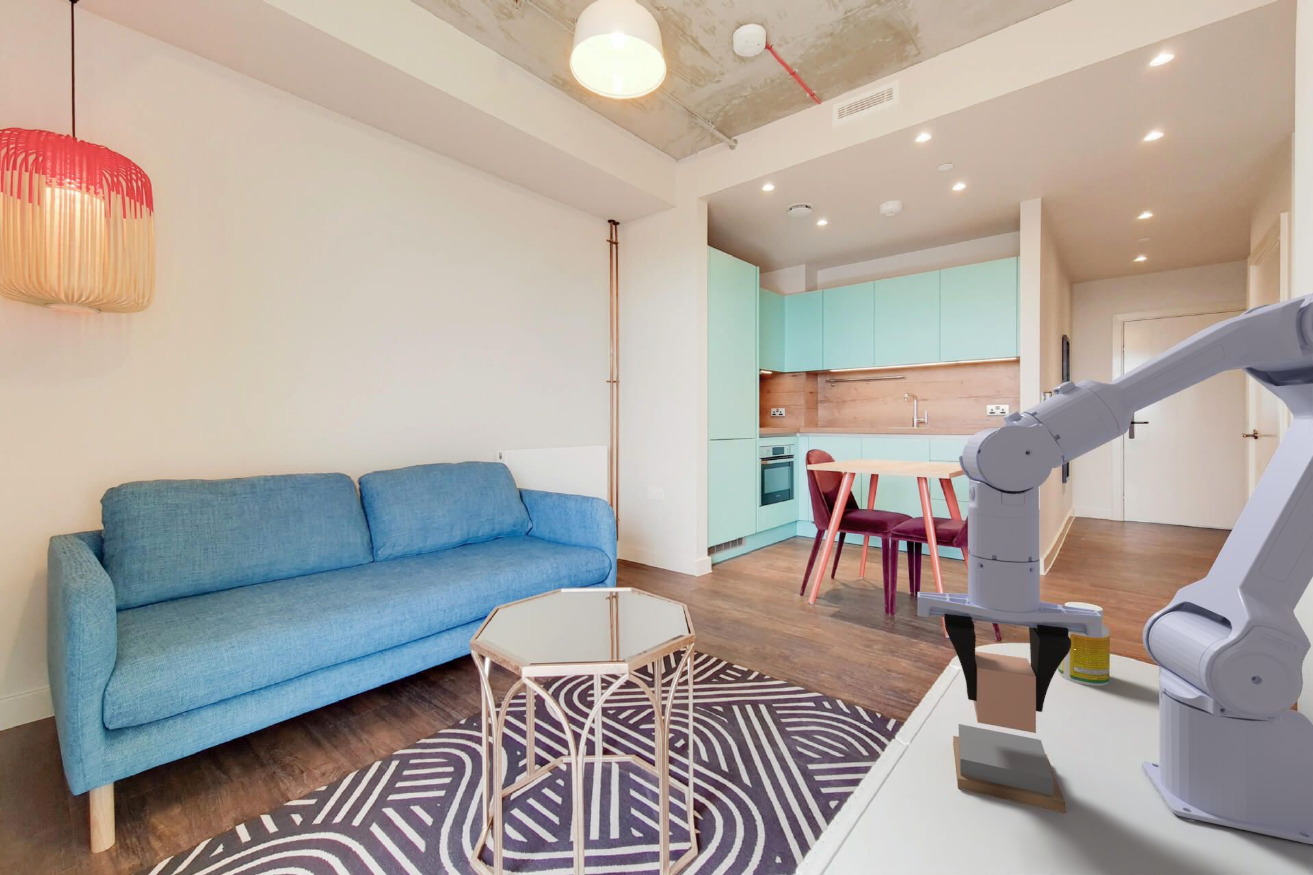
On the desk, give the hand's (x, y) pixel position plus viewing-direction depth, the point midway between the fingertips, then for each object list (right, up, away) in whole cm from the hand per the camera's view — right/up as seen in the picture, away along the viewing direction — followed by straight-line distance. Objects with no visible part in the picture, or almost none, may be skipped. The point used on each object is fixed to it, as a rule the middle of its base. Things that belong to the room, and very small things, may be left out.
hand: (1003, 701), depth 53 cm
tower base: (0, -8, 0) cm, 8 cm away
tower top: (0, -6, 0) cm, 6 cm away
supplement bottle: (+23, -7, +20) cm, 31 cm away
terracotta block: (0, -2, 0) cm, 2 cm away
